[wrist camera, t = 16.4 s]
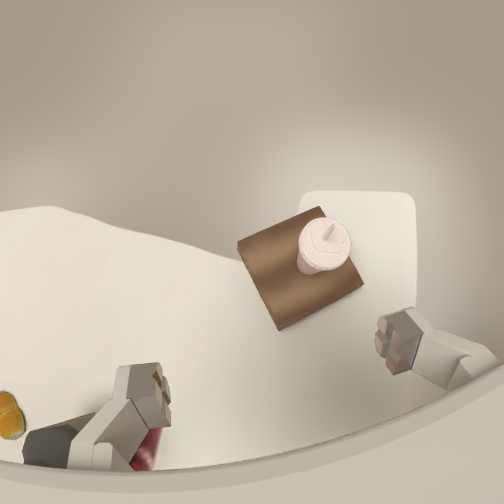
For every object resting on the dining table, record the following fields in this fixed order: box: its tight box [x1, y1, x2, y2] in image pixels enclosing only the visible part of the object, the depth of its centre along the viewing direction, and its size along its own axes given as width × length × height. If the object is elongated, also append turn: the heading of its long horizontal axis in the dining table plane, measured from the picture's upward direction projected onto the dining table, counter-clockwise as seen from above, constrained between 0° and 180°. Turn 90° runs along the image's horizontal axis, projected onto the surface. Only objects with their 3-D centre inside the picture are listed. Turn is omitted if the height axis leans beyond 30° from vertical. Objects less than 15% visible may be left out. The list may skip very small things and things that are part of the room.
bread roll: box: [0, 392, 24, 440], centre depth 38 cm, size 8×9×4 cm
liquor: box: [22, 413, 136, 469], centre depth 26 cm, size 9×9×30 cm
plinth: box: [238, 206, 364, 331], centre depth 49 cm, size 14×14×4 cm
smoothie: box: [297, 217, 351, 275], centre depth 40 cm, size 6×6×14 cm
